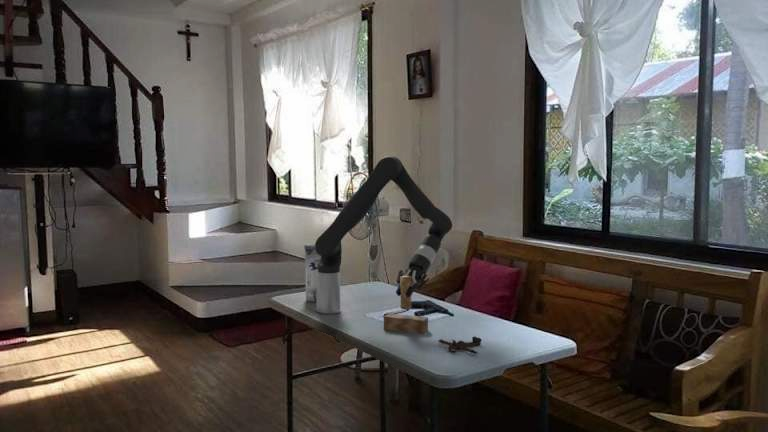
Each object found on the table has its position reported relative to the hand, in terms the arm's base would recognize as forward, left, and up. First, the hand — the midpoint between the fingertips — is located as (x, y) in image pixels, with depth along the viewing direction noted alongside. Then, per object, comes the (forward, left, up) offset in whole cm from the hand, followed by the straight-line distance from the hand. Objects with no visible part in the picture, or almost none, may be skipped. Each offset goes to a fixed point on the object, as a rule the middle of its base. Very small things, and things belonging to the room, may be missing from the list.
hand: (402, 295), depth 230 cm
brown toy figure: (+27, -12, -14) cm, 33 cm away
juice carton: (-54, +33, -14) cm, 65 cm away
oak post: (+1, +2, -5) cm, 6 cm away
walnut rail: (+1, +2, -14) cm, 14 cm away
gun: (-2, +32, -14) cm, 35 cm away
